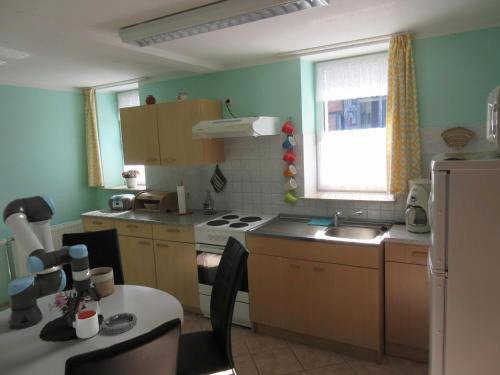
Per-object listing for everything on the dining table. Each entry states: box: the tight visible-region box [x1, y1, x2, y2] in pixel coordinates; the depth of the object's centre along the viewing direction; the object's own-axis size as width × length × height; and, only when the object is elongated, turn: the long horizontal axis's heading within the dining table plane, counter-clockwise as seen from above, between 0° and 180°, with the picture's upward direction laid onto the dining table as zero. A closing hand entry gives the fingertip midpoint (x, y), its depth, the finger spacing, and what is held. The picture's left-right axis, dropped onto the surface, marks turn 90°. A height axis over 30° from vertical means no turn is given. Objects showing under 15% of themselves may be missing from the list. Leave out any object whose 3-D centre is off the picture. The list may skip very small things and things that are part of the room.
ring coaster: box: [101, 312, 138, 335], centre depth 186 cm, size 16×16×3 cm
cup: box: [75, 309, 100, 340], centre depth 179 cm, size 10×10×10 cm
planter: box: [89, 266, 116, 298], centre depth 227 cm, size 16×16×14 cm
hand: (86, 320), depth 178 cm, fingers open, 13 cm apart
